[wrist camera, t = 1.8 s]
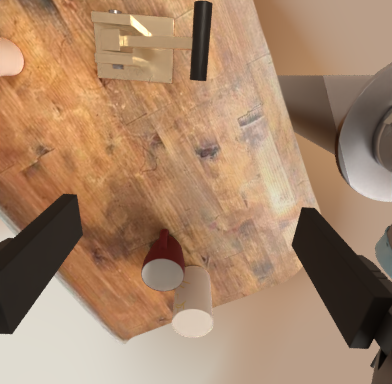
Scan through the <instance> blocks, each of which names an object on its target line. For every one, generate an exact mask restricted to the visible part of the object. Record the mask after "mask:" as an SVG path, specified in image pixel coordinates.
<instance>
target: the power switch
mask: <svg viewBox="0 0 392 384" xmlns="http://www.w3.org/2000/svg"><path fill="white" fill-rule="evenodd" d="M91 19H92V22H93V23H94V35H95V47H96V53H94V55H95V62H96V63H97V71H98V78H107V79H120V80H133V81H146V82H159V83H171V84H172V83H173V61H174V49H155V48H133V53H118V52H110V51H103V50H101V37H100V29H121V30H125V31H128V32H132V36H170V37H174V28H175V19H174V18H171V17H160V16H148V15H137V14H125V13H122V12H121V11H118V10H109V12H102V11H91Z"/></svg>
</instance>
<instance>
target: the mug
mask: <svg viewBox="0 0 392 384" xmlns="http://www.w3.org/2000/svg"><path fill="white" fill-rule="evenodd" d="M184 273H185V263H184V258H183V253H182V248H181V246H180V244H179V243H178V241H177V240H176V239H175V238H173V237H171V236H169V231H168V229H162V230H161V231H160V238H159V239H158V240H157V241H156V242H155V243H154V244H153V245H152V247H151V249H150V251H149V252H148V254H147V256H146V258H145V260H144V263H143V267H142V271H141V276H142V280H143V281H144V283H145V284H146V285H147V286H148V287H150V288H152V289H154V290H157V291H170V290H173V289H176V288H177V287H179V286H180V285H181V283H182V282H183V280H184Z"/></svg>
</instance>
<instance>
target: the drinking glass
mask: <svg viewBox="0 0 392 384" xmlns="http://www.w3.org/2000/svg"><path fill="white" fill-rule="evenodd" d="M23 66H24V58H23V55H22V53H21V51H20V49H19V48H18V47H17V46H16V45H15V44H14V43H13V42H12V41H10V40H8V39H5V38H1V37H0V76H14V75H17V74H18V73H20V72H21V71H22V69H23Z"/></svg>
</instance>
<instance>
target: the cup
mask: <svg viewBox="0 0 392 384" xmlns="http://www.w3.org/2000/svg"><path fill="white" fill-rule="evenodd" d="M172 327H173V328H174V330H175V331H176V332H177V333H178V334H180V335H182V336H185V337H191V338H195V337H201V336H203V335H205V334H207V333H209V332H210V331H211V329H212V327H213V311H212V298H211V285H210V276H209V273H208V272H207V271H206V270H205V269H204V268H202V267H199V266H187V267H185V273H184V280H183V282H182V283H181V285H180V286H179V287H177V288H176V289H175V295H174V306H173V317H172Z"/></svg>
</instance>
